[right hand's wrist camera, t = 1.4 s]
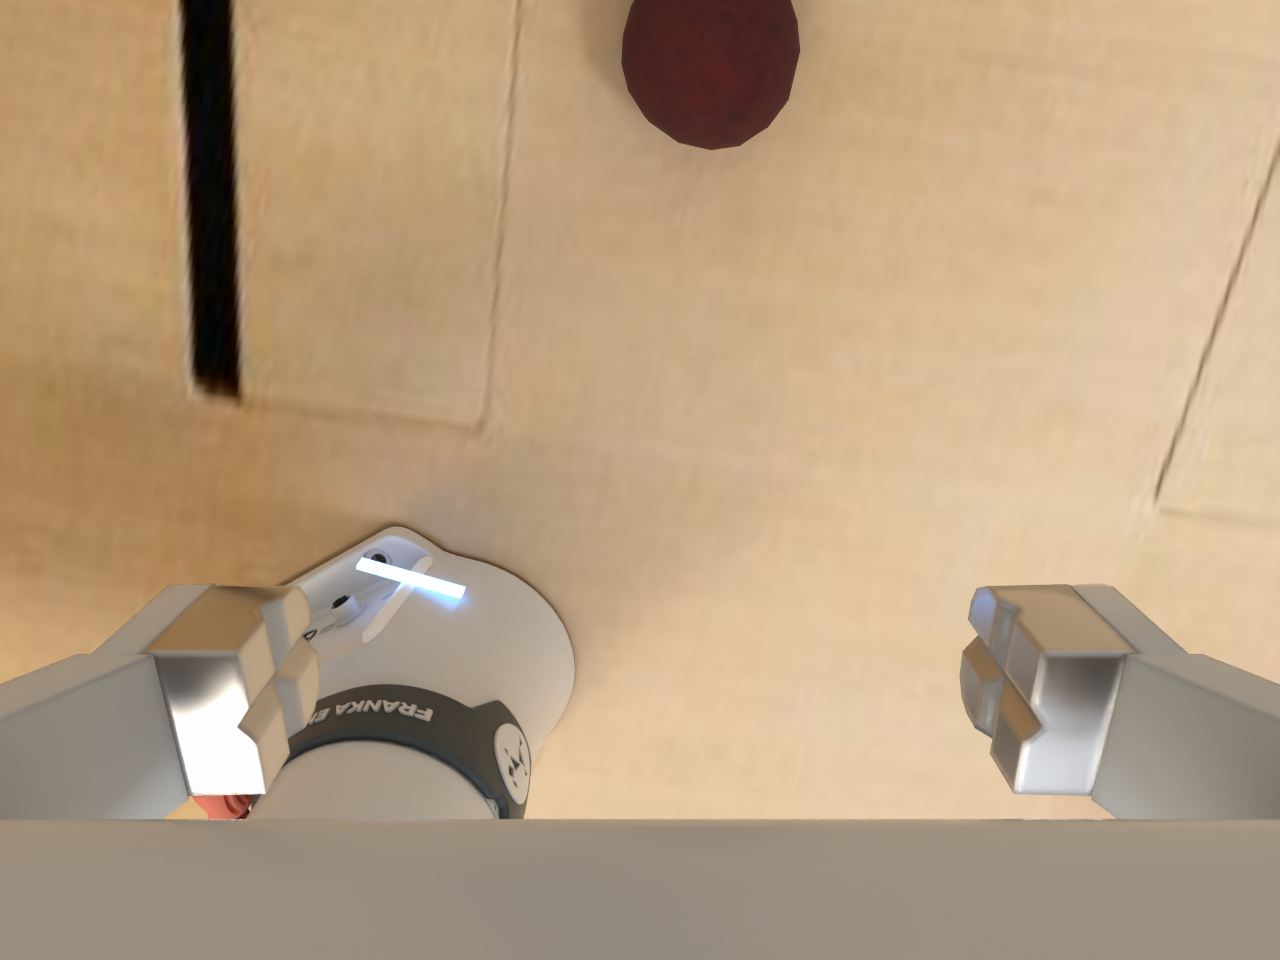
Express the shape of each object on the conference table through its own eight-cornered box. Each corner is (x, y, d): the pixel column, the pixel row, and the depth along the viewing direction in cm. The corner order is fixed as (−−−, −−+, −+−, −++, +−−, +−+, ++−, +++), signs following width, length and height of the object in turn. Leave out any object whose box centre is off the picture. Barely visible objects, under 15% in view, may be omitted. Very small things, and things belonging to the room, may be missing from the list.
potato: (757, -65, 36) (776, -115, 29) (808, 118, 38) (836, 108, 32) (600, 4, 37) (584, -30, 31) (659, 176, 40) (656, 179, 33)
